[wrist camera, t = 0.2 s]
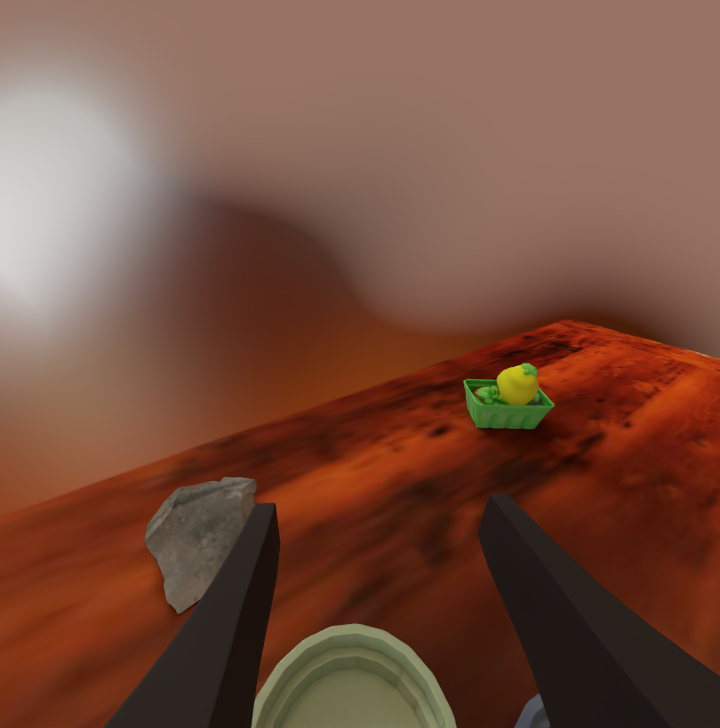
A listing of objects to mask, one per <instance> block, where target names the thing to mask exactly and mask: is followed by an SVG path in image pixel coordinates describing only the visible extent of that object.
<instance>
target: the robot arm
mask: <svg viewBox="0 0 720 728" xmlns="http://www.w3.org/2000/svg"><path fill="white" fill-rule="evenodd" d="M478 536H479V539H480V543H481V546H482V549H483V553H484V556H485V559H486V562H487V565H488V567H489V570H490V572H491V575H492V577H493V579H494V582H495V584H496V586H497V589H498V591H499V593H500V596H501V598H502V600H503V602H504V605H505V607H506V609H507V612H508V614H509V616H510V618H511V621H512V623H513V625H514V628H515V630H516V632H517V635H518V637H519V639H520V641H521V644H522V646H523V649H524V651H525V654H526V656H527V659H528V662H529V664H530V667H531V670H532V673H533V676H534V679H535V682H536V685H537V688H538V691H539V693H540V696H541V699H542V702H543V705H544V708H545V711H546V715H547V718H548V721H549V724H550V727H551V728H720V676H719V675H717V674H716V673H715V672H713V671H712V670H710V669H709V668H707V667H706V666H705V665H703V664H702V663H700V662H699V661H698V660H696V659H695V658H693V657H692V656H691V655H689V654H688V653H687V652H685V651H684V650H682V649H681V648H680V647H678V646H677V645H676V644H674V643H673V642H672V641H670V640H669V639H668V638H666V637H665V636H664V635H662V634H661V633H660V632H658V631H657V630H656V629H654V628H653V627H652V626H650V625H649V624H648V623H647V622H645V621H644V620H643V619H642V618H640V617H639V616H638V615H637V614H635V613H634V612H633V611H632V610H630V609H629V608H628V607H627V606H626V605H624V604H623V603H622V602H621V601H619V600H618V599H617V598H616V597H615V596H613V595H612V594H611V593H610V592H609V591H608V590H606V589H605V588H604V587H603V586H602V585H601V584H600V583H598V582H597V581H596V580H595V579H594V578H593V577H592V576H591V575H590V574H588V573H587V572H586V571H585V570H584V569H583V568H582V567H581V566H580V565H578V564H577V563H576V562H575V561H574V560H573V559H572V558H571V557H570V556H569V555H568V554H567V553H566V552H565V551H564V550H563V549H562V548H561V547H560V546H559V545H557V544H556V543H555V542H554V541H553V540H552V539H551V538H550V537H549V536H548V535H547V534H546V533H545V532H544V531H543V530H542V529H541V528H540V527H539V526H538V525H537V524H536V523H535V522H534V521H533V520H532V519H531V518H530V517H529V516H528V515H527V513H526V512H525V511H524V510H523V509H522V508H521V507H520V506H519V505H518V504H517V503H516V502H515V501H514V500H513V499H512V498H511V497H510V496H509V495H508V494H507V493H505V494H489V498H488V501H487V504H486V508H485V511H484V514H483V517H482V521H481V524H480V527H479V531H478ZM279 551H280V537H279V529H278V521H277V513H276V505H275V503H262V504H255V505H254V506H253V507H252V510H251V512H250V514H249V516H248V518H247V520H246V522H245V524H244V526H243V528H242V530H241V532H240V534H239V536H238V538H237V539H236V541H235V543H234V545H233V547H232V549H231V550H230V552H229V554H228V555H227V557H226V559H225V561H224V562H223V564H222V566H221V567H220V569H219V571H218V573H217V574H216V576H215V577H214V579H213V581H212V582H211V584H210V585H209V587H208V588H207V590H206V591H205V593H204V595H203V596H202V598H201V599H200V601H199V602H198V604H197V605H196V607H195V608H194V610H193V611H192V613H191V614H190V616H189V617H188V619H187V620H186V622H185V623H184V624H183V626H182V627H181V629H180V630H179V631H178V633H177V634H176V636H175V637H174V638H173V640H172V641H171V642H170V644H169V645H168V647H167V648H166V649H165V651H164V652H163V653H162V655H161V656H160V657H159V658H158V660H157V661H156V662H155V664H154V665H153V666H152V668H151V669H150V670H149V671H148V673H147V674H146V675H145V677H144V678H143V679H142V680H141V682H140V683H139V684H138V686H137V687H136V688H135V689H134V691H133V692H132V693H131V694H130V695H129V697H128V698H127V699H126V700H125V702H124V703H123V704H122V705H121V706H120V708H119V709H118V710H117V711H116V712H115V713H114V715H113V716H112V717H111V718H110V719H109V721H108V722H107V723H106V724H105V725H104V726H103V728H251V726H252V718H253V710H254V702H255V693H256V685H257V679H258V673H259V667H260V661H261V656H262V651H263V646H264V641H265V636H266V631H267V625H268V620H269V615H270V610H271V605H272V600H273V595H274V590H275V585H276V579H277V571H278V561H279Z"/></svg>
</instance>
